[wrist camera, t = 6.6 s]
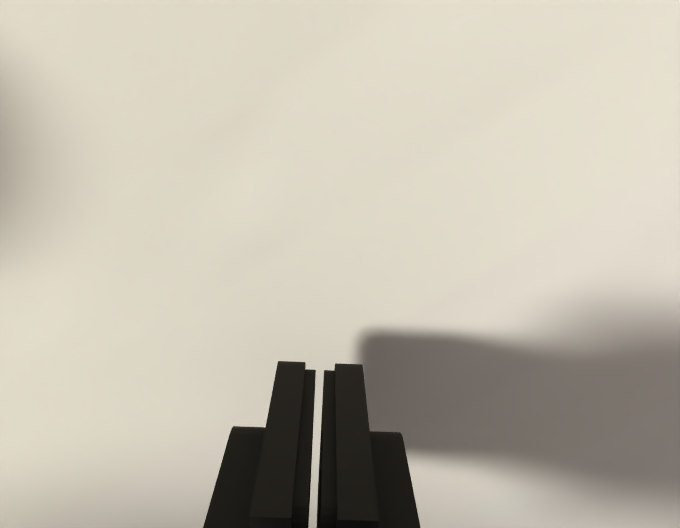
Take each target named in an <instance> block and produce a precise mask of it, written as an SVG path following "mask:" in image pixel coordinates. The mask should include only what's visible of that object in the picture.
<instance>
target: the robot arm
mask: <svg viewBox="0 0 680 528" xmlns="http://www.w3.org/2000/svg"><path fill="white" fill-rule="evenodd" d="M315 373H316V370H305V362H286V361H278V365H277V370H276V375H275V381H274V386H273V391H272V397H271V402H270V407H269V413H268V418H267V423H266V428H263V427H237V426H234V427H233V428H232V429H231V432H230V435H229V439H228V442H227V446H226V449H225V453H224V456H223V460H222V464H221V467H220V471H219V474H218V478H217V481H216V485H215V488H214V492H213V495H212V499H211V502H210V506H209V509H208V513H207V516H206V520H205V523H204V527H203V528H308V522H309V503H310V483H311V461H312V439H313V417H314V395H315ZM317 528H420V523H419V518H418V513H417V508H416V503H415V498H414V493H413V487H412V482H411V477H410V472H409V467H408V462H407V457H406V452H405V447H404V441H403V437H402V434H401V433H397V432H371V431H369V423H368V413H367V404H366V394H365V385H364V375H363V366H362V365H358V364H335V371H328V370H324V385H323V405H322V424H321V443H320V462H319V482H318V508H317Z"/></svg>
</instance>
